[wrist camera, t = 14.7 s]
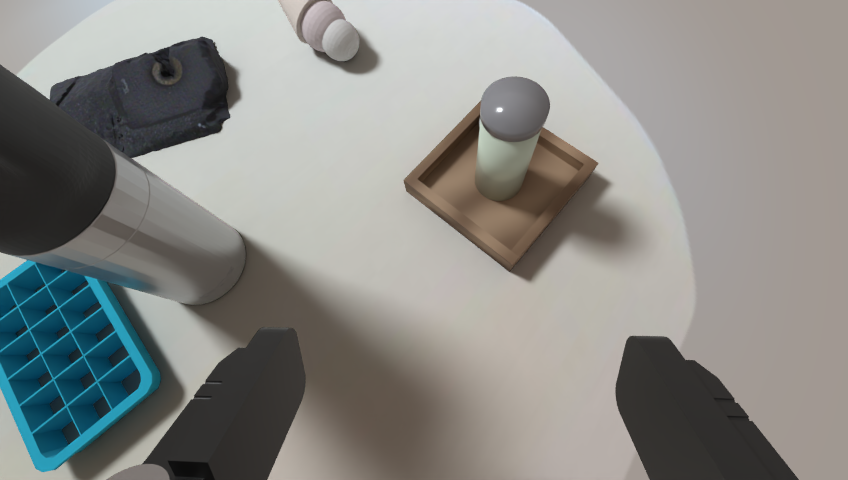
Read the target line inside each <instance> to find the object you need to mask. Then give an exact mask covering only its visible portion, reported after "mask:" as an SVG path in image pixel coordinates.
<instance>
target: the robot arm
mask: <svg viewBox="0 0 848 480" xmlns="http://www.w3.org/2000/svg"><path fill="white" fill-rule="evenodd" d="M0 252H1V253H5V254H8V255H12V256H15V257H19V258H23V259H26V260H30V261H33V262H37V263H41V264H44V265H48V266H52V267H56V268H59V269H63V270H66V271H70V272H74V273H77V274H81V275H84V276H88V277H91V278H95V279H99V280H102V281H106V282H109V283H113V284H117V285H120V286H124V287H127V288H131V289H134V290H138V291H142V292H145V293H149V294H152V295H156V296H159V297H163V298H166V299H170V300H173V301H177V302H181V303H184V304H190V305H200V304H206V303H209V302H212V301H214V300H216V299H218V298H220V297H221V296H223V295H224V294H225V293H227V292H228V291H229V290H230V289H231V288H232V287H233V286H234V284H235V283H236V282H237V280H238V279H239V277H240V275H241V274H242V271H243V268H244V265H245V259H246V251H245V245H244V242H243V239H242V238H241V236H240V235H239V233H238V232H237V231H236V230H235V229H234V228H232V227H231V226H230V225H228V224H227V223H225V222H224V221H222V220H221V219H219V218H218V217H216V216H215V215H214V214H212V213H211V212H209V211H208V210H206V209H205V208H203V207H202V206H200V205H199V204H198V203H196V202H195V201H193V200H192V199H190V198H189V197H187V196H186V195H184V194H183V193H181V192H180V191H178V190H177V189H176V188H174V187H173V186H171V185H170V184H168V183H167V182H165V181H164V180H162V179H161V178H159V177H158V176H156V175H155V174H154V173H152V172H151V171H149V170H148V169H146V168H145V167H143V166H142V165H140V164H139V163H137V162H136V161H134V160H133V159H131V158H130V157H128V156H127V155H125V154H124V153H122V152H121V151H119V150H118V149H116V148H115V147H114V146H112V145H111V144H109V143H108V142H106V141H105V140H103V139H102V138H100V137H99V136H98V135H96V134H95V133H93V132H92V131H90V130H89V129H87V128H86V127H84V126H83V125H82V124H80V123H79V122H78V121H76V120H75V119H74V118H72V117H71V116H70V115H68V114H67V113H66V112H65V111H63V110H62V109H61V108H59V107H58V106H57V105H56V104H54V103H53V102H52V101H50V100H49V99H48V98H46V97H45V96H44V95H42V94H41V93H40V92H38V91H37V90H35V89H34V88H33V87H31V86H30V85H28V84H27V83H26V82H24V81H23V80H21V79H20V78H18V77H17V76H16V75H14V74H13V73H11V72H10V71H9V70H7V69H6V68H4V67H3V66H2V65H0ZM304 390H305V371H304V367H303V362H302V357H301V352H300V348H299V343H298V338H297V334H296V331H295V330H294V329H293V328H274V327H262V328H260V329H259V330H258V331H257V333H256V334H255V336H254V337H253V339H252V340H251V341H250V343H249V344H248V346H247V347H246V348H238V349H236V350H235V351H234V352H232V353H231V354H230V355H228V356H227V357H226V358H224V359H223V360H222V361H221V362H219V363H218V365H217V366H216V367H215V369H214V370H213V371H212V373H211V374H210V375H209V377H208V378H207V379H206V382H205V384H203V385H202V386H201V387H200V389H199V390H198V391H197V392H196V394H195V395H194V399H193V400H190V402H189V403H188V404H187V406H186V407H185V408H184V410H183V411H182V412H181V414H180V415H179V416H178V418H177V419H176V420H175V422H174V423H173V424H172V426H171V427H170V428H169V430H168V431H167V432H166V434H165V435H164V436H163V438H162V439H161V440H160V442H159V443H158V444H157V446H156V447H155V448H154V450H153V451H152V452H151V454H150V455H149V456H148V458H147V459H146V460H145V461H144V463H143V464H142V465H137V466H133V467H130V468H128V469H125V470H123V471H121V472H119V473H117V474H115V475H113V476H111V477H110V478H108V479H107V480H267V479H268V477H269V474H270V472H271V470H272V467H273V465H274V463H275V460H276V458H277V456H278V454H279V451H280V449H281V447H282V444H283V442H284V440H285V438H286V435H287V433H288V431H289V428H290V426H291V424H292V422H293V419H294V417H295V415H296V412H297V410H298V408H299V405H300V403H301V401H302V398H303V395H304ZM616 401H617V406H618V409H619V412H620V415H621V417H622V419H623V421H624V423H625V426H626V428H627V430H628V432H629V434H630V437H631V439H632V441H633V443H634V446H635V448H636V450H637V452H638V454H639V456H640V459H641V461H642V463H643V465H644V468H645V470H646V472H647V474H648V477H649V479H650V480H799V479H798V478H797V477H796V476H795V474H794V473H793V472H792V471H791V469H790V468H789V467H788V465H787V464H786V463H785V462H784V460H783V459H782V458H781V457H780V456H779V454H778V453H777V452H776V450H775V449H774V448H773V447H772V445H771V444H770V443H769V442H768V441H767V439H766V438H765V437H764V435H763V434H762V433H761V432H760V430H759V429H758V428H757V426H756V425H755V424H754V423H753V422H752V421H749V419H748V417H749V416H748V415H747V414H746V413H745V411H744V410H743V409H742V408H741V407H740V405H739V404H738V403H735V401H734V398H733V397H732V395H731V394H730V393H729V391H728V390H727V389H726V388H725V386H724V385H723V384H722V383H721V381H720V380H719V379H718V378H717V377H716V376H715V375H713V374H712V373H710V372H709V371H708V370H706V369H705V368H704V367H702V366H701V365H700V364H698V363H697V362H696V361H694V360H685V359H684V358H683V356H682V355H681V353H680V352H679V351H678V349H677V348H676V347H675V345H674V344H673V343H672V341H671V340H670V339H669V338H667V337H663V336H630V337H629V338H628V339H627V341H626V345H625V349H624V353H623V357H622V361H621V365H620V370H619V374H618V378H617V382H616Z"/></svg>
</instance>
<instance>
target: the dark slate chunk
mask: <svg viewBox="0 0 848 480" xmlns="http://www.w3.org/2000/svg"><path fill="white" fill-rule="evenodd" d="M227 90H228V82H227V76H226V72H225V67H224V64H223V61H222V59H221V58H220V55H219V54H218V53H217V50H216V49H214V44H213V40H211V39H208V38H205V37H200V38H197V39H191V40H187V41H183V42H179V43H177V44H174V45H172V46H170V47H167V48H164V49H160V50H158V51H156V52H154V53H149V54H148V53H144V54H142V55H140V56H138V57H134V58H130V59H126V60H123V61H121V62H118V63H115V65H113V66H110V67H107V68H105V69H99V70H97V71H96V72H93V73H91V74H88V75H85V76H78V77H75V78H71V79H68V80H65V81H63V82H60V83H57V84H55V85H54V86H52V87H51V91H50V101H52V102H53V103H54V104H56V105H57V106H58V107H59V108H61V109H62V110H63V111H65V112H66V113H67V114H68V115H70V116H71V117H72V118H74V119H75V120H76V121H78V122H79V123H80V124H82V125H83V126H84V127H86V128H87V129H89V130H90V131H92V132H93V133H95V134H96V135H98V136H99V137H100V138H102V139H103V140H105V141H106V142H108V143H109V144H111V145H112V146H114V147H115V148H116V149H118V150H119V151H121V152H122V153H124V154H125V155H127V156H128V157H130V158H133V157H137V156H139V155H144V154H147V153H150V152H152V151H157V150H160V149H163V148H168V147H170V146H173V145H176V144H180V143H183V142H186V141H189V140H194V139H196V138H200V137H205V136H208V135H210V134H214V133H218V132H219V131H220V129H221V126H220V123H223V121H225V120H226V119H228V118H230V114H229V111H228V105H227V100H226V93H227Z"/></svg>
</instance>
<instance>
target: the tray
mask: <svg viewBox="0 0 848 480" xmlns="http://www.w3.org/2000/svg"><path fill="white" fill-rule="evenodd" d="M480 108H481V101H480V102H479V103H478V104H477V105H476V106H475V107H474V108H473V109H472V110H471V111H470V112H469V113H468V114H467V115H466V117H465V118H464V119H463V120H462V121H461V122H460V123H459V124H458V125H457V126H456V127H455V128H454V129H453V130H452V131H451V132H450V133H449V134H448V135H447V136H446V137H445V138H444V139H443V140H442V141H441V142H440V143H439V144H438V145H437V146H436V147H435V148H434V149H433V150H432V151H431V152H430V154H429V155H428V156H427V157H426V158H425V159H424V160H423V161H422V162H421V163H420V164H419V165H418V166H417V167H416V168H415V169H414V170H413V171H412V172H411V173H410V174H409V175H408V176H407V177H406V178H405V179H404V184H405V188H406V191H407V192H408V193H410V194H411V195H412V196H413V197H415V198H416V199H417V200H419V201H420V202H421V203H422V204H424V205H425V206H426V207H427V208H429V209H430V210H431V211H433V212H434V213H435V214H436V215H438V216H439V217H440V218H442V219H443V220H444V221H445V222H447V223H448V224H449V225H450V226H452V227H453V228H454V229H456V230H457V231H458V232H459V233H461V234H462V235H463V236H464V237H466V238H467V239H468V240H470V241H471V242H472V243H473V244H475V245H476V246H477V247H478V248H480V249H481V250H482V251H484V252H485V253H486V254H487V255H489V256H490V257H491V258H493V259H494V260H495V261H496V262H498V263H499V264H500V265H501V266H503V267H504V268H505V269H507V270H508V271H509V272H510V270H511V269H512V268H513V267H514V266H515V264H516V263H517V262H518V261H519V260H520V259H521V257H522V256H523V255H524V254H525V253H526V251H527V250H528V249H529V248H530V247H531V245H532V244H533V243H534V242H535V241H536V239H537V238H538V237H539V236H540V235H541V234H542V232H543V231H544V230H545V229H546V228H547V226H548V225H549V224H550V223H551V222H552V220H553V219H554V218H555V217H556V216H557V214H558V213H559V212H560V211H561V210H562V208H563V207H564V206H565V205H566V204H567V203H568V201H569V200H570V199H571V198H572V197H573V195H574V194H575V193H576V192H577V191H578V189H579V188H580V187H581V186H582V185H583V183H584V182H585V181H586V180H587V179H588V178H589V176H590V175H591V174H592V172H593V171H594V169H595V168H596V166H597V165H598V162H596V161H595V160H593V159H592V158H590V157H588V156H587V155H585V154H584V153H582V152H581V151H579V150H578V149H576V148H574V147H573V146H571V145H570V144H568V143H567V142H565V141H564V140H562V139H560V138H559V137H557V136H556V135H554V134H553V133H551V132H550V131H548V130H546V129H545V128H542V129H541V132H540V135H539V138H538V141H537V144H536V146H535V149H534V152H533V155H532V158H531V161H530V164H529V167H528V169H527V172H526V175H525V178H524V181H523V184H522V187H521V189H520V191H519V192H518V193H517V194H516V195H515V196H514V197H512V198H511V199H508V200H505V201H494V200H490V199H488V198H486V197H484V196H483V195H482V194H481V193H480V192H479V191H478V189H477V187H476V185H475V170H476V160H477V150H478V140H479V130H480V127H479V119H480Z"/></svg>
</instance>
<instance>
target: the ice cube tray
mask: <svg viewBox="0 0 848 480" xmlns="http://www.w3.org/2000/svg"><path fill="white" fill-rule="evenodd" d="M62 270H63V269H59V268H56V267H52V266H48V265H44V264H41V263H37V262H33V261H30V260H27V261H26V262H24V263H23V264H22V265H20V266H19V267H17V268H16V269H15V270H13V271H12V272H10V273H9V274H8V275H6V276H5V277H3V278H2V279H1V280H0V388H1V390H2V392H3V395H4V397H5V399H6V402H7V404H8V406H9V409H10V411H11V413H12V415H13V418H14V420H15V422H16V425H17V427H18V429H19V432H20V434H21V436H22V438H23V441H24V443H25V445H26V448H27V450H28V452H29V454H30V457H31V459H32V461H33V464H34V466H35V468H36V469H37V470H39V471H41V472H46V471H51V470H55V469H57V468H58V467H60V466H61V465H62V464H63V463H64V462H66V461H67V460H68V459H69V458H71V457H72V456H73V455H74V454H75V453H78V452H81V451H82V450H83V449H85V448H86V447H87V446H88V445H89V444H91V443H92V442H93V441H94V440H96V439H97V438H98V437H99V436H100V435H102V434H103V433H104V432H105V431H107V430H108V429H109V428H110V427H111V426H113V425H114V424H115V423H116V422H118V421H119V420H120V419H121V418H122V417H124V416H125V415H126V414H127V413H128V412H130V411H131V410H132V409H133V408H135V407H136V406H137V405H138V404H139V403H141V402H142V401H143V400H144V399H146V398H147V397H148V396H149V395H150V394H152V393H153V392H154V391H155V390H157V389H158V387H159V385H160V382H161V376H160V372H159V370H158V368H157V367H156V365H155V363H154V361H153V360H152V358H151V356H150V355H149V353H148V351H147V350H146V348H145V346H144V345H143V343H142V341H141V339H140V338H139V336H138V334H137V333H136V331H135V329H134V328H133V326H132V324H131V322H130V321H129V319H128V317H127V316H126V314H125V312H124V311H123V309H122V307H121V306H120V304H119V302H118V300H117V299H116V297H115V295H114V294H113V292H112V290H111V289H110V287H109V285H108V283H107V282H106V281H102V280H99V279H95V278H91V277H88V276H84V275H81V274H77V273H74V272H70V271H65V272H63V273H61V271H62ZM86 280H87V282H88V283H89V285H87V286H86V287H85V288H83V289H82V290H81V291H79V292H78V293H77V294H75V295H73V293H72V291H73V290H74V289H76V288H77V287H78V286H80V285H81V284H82V283H84V282H85V281H86ZM44 283H45V285H46V286H44V287H43V288H42V289H40V290H39V291H37V292H36V293H35V290H36V289H37V288H39V287H40V286H42V285H43V284H44ZM98 301H99V303H100V304H101V306H102V307H101V308H100V309H98V310H97V311H96V312H94V313H93V314H92V315H90V316H89V317H88V318H86V317H85V315H84V313H83V312H85V311H86V310H87V309H89V308H90V307H91V306H93V305H94V304H95V303H97V302H98ZM15 304H16V305H17V307H16V308H14V309H13V310H11V308H12V307H13V306H14V305H15ZM54 304H56V306H57V309H55V310H54V311H52V312H51V313H50V314H48V315H47V314H46V312H45V311H46V310H47V309H49V308H50V307H51V306H53V305H54ZM10 310H11V311H10ZM110 323H111V324H112V325H113V327H114V329H115V331H114V332H112V333H111V334H110V335H109V336H107V337H106V338H105V339H103V340H102V341H101V342H99V341H98V339H97V337H96V334H97V333H98V332H99V331H101V330H102V329H103V328H105V327H106V326H107V325H108V324H110ZM66 325H67V327H68V329H69V332H68V333H67V334H65V335H64V336H63V337H61V338H60V339H59V338H58V336H57V334H56V333H57V332H58V331H60V330H61V329H62V328H64V327H65V326H66ZM24 326H27V328H28V330H27V331H26V332H24V333H23V334H22V335H20V336H19V337H17V334H16V332H18V331H19V330H20V329H22V328H23V327H24ZM123 345H124V346H125V348H126V350H127V352H128V353H129V356H127V357H126V358H125V359H124V360H122V361H121V362H120V363H119V364H117V365H116V366H115V367H114V368H113V366H112V364H111V362H110V361H109V359H108V357H109V356H111V355H112V354H113V353H115V352H116V351H117V350H118V349H120V348H121V347H122V346H123ZM36 348H38V350H39V352H40V354H39V355H38V356H36V357H35V358H34V359H33V360H31V361H30V362H29V360H28V358H27V356H26V355H28V354H29V353H30V352H32V351H33V350H34V349H36ZM77 348H79V350H80V351H81V353H82V355H83V356H82V357H80V358H79V359H78V360H76V361H75V362H74V363H73V364H72V363H71V361H70V359H69V357H68V355H70V354H71V353H72V352H73V351H75V350H76V349H77ZM136 369H138V371H139V373H140V377H141V382H140V385H139V388H138V389H137V390H136V391H134V392H133V393H132V394H131V395H128V393H127V392H126V390H125V388H124V386H123V384H122V382H121V381H123V380H124V379H125V378H126V377H128V376H129V375H130V374H131V373H133V372H134V371H135V370H136ZM47 371H49V373H50V375H51V377H52V380H51V381H49V382H48V383H47V384H45V385H44V386H43V387H41V385H40V383H39V381H38V378H40V377H41V376H42V375H44V374H45V373H46V372H47ZM90 371H91V372H92V374H93V376H94V378H95V380H96V382H95V383H93V384H92V385H91V386H90V387H88V388H87V389H86V390H85V388H84V387H83V385H82V383H81V381H80V379H81V378H83V377H84V376H85V375H87V374H88V373H89V372H90ZM60 395H61V397H62V399H63V401H64V404H65V406H64V407H63V408H62V409H61V410H59V411H58V412H57V413H56V414H54V413H53V411H52V409H51V406H50V403H51V402H52V401H53V400H55V399H56V398H57V397H59V396H60ZM103 396H104V397H105V399H106V401H107V403H108V405H109V406H110V408H111V411H110V412H109V413H107V414H106V415H105V416H104V417H102V418H101V419H100V418H99V416H98V414H97V412H96V410H95V408H94V406H93V404H94V403H95V402H97V401H98V400H99V399H100V398H101V397H103ZM72 421H73V422H74V424H75V426H76V428H77V430H78V432H79V434H80V436H79V437H78V438H77V439H75V440H74V441H73V442H72V443H70V444H69V445H68V442H67V440H66V438H65V436H64V434H63V432H62V429H63V428H64V427H65V426H67V425H68V424H69V423H70V422H72Z"/></svg>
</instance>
